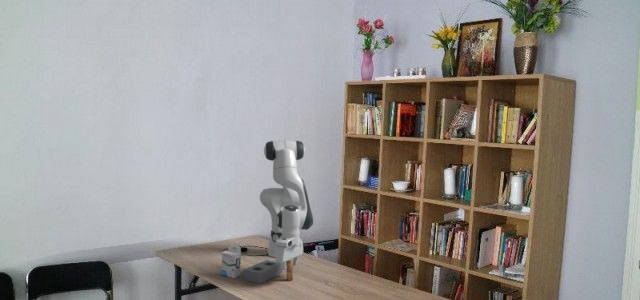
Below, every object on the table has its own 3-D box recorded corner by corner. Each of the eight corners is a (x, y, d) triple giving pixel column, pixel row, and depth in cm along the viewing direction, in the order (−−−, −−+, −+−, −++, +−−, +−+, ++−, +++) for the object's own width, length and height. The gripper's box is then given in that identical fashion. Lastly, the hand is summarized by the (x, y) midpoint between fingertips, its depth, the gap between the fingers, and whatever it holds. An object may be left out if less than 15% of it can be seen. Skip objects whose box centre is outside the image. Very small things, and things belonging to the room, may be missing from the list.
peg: (288, 278, 232) (289, 260, 232) (293, 279, 231) (294, 261, 231) (285, 280, 230) (285, 262, 229) (290, 281, 228) (291, 263, 228)
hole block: (266, 269, 246) (266, 259, 246) (282, 272, 242) (282, 263, 241) (243, 279, 228) (243, 269, 228) (260, 283, 224) (260, 273, 224)
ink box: (220, 275, 234) (221, 246, 234) (227, 272, 239) (228, 244, 238) (234, 278, 230) (234, 248, 229) (240, 275, 235) (241, 246, 234)
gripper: (295, 234, 240) (295, 261, 240) (273, 242, 222) (272, 271, 222) (306, 236, 237) (305, 263, 237) (285, 244, 219) (284, 273, 219)
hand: (289, 267), depth 230 cm, fingers open, 8 cm apart
